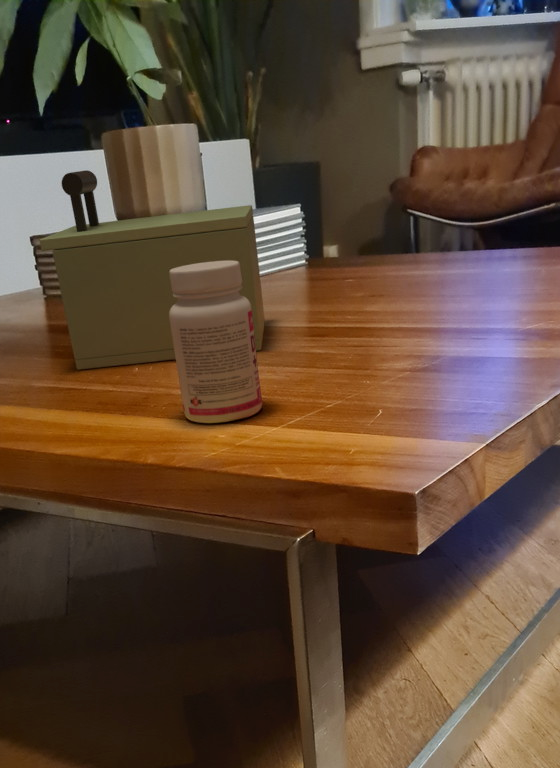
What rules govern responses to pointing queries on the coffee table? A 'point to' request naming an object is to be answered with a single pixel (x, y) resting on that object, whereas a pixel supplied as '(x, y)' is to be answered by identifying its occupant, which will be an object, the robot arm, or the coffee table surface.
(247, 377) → the pill bottle
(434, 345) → the coffee table surface
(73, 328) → the bin
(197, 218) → the lid
